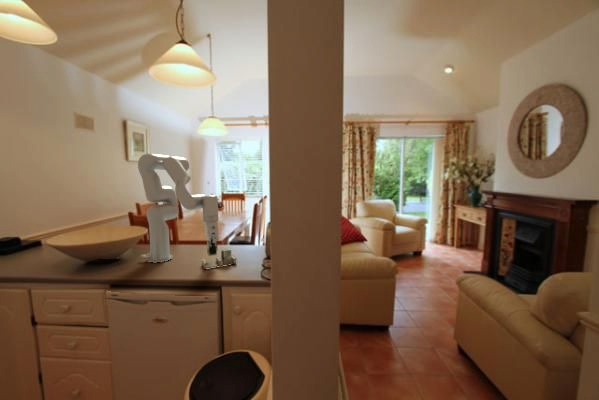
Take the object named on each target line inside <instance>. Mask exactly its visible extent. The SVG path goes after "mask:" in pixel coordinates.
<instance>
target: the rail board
mask: <svg viewBox="0 0 599 400" xmlns="http://www.w3.org/2000/svg"><path fill="white" fill-rule="evenodd" d="M220 253H221V255H220V256H221V257H220V256H216V257H215V261H210V262H208V261H207V260H206V259H205V258H202V259H201V266H202V265H203V266H202V268H203V267H204V268H205V269H206V268H211V267H217V266H223V265H229V264H236V263H237V262H238V261H237V257H235V256H234V254H232V249H231V248H229V247H227V248H221V252H220ZM204 268H203V269H204Z"/></svg>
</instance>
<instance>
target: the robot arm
mask: <svg viewBox="0 0 599 400" xmlns="http://www.w3.org/2000/svg"><path fill="white" fill-rule="evenodd" d="M137 168H138V173H139V174H140V177H141V179H142V184H143V185H142V186H143V189H144V193H145V197H146V200H147V202H149V203H152V204H153V203H154V204H155V203H161V204H155V205H151V206H150V207H148V208H147V209H146V219H147V223H148V228H149V229H148V231H149V247H150V251H149V253H146V254H141V255H140V258H141V259H143V260H144V259H147V262H148V263H150V262H153V263H152V264H157V262H160V263H164V261H165V262H168V260H169V261H171V260H172V259H173V258H174V256H173V255H172V254H171V253H170V229H169V225H168V224H167V222H166V221H168V220H173V219H176V218H177V217H179V214H180V213H179V212H180V211H179V210H180V209H179V205H178V202H179V203H180V205H181V206H182V207H183V208H184V209H186V210H188V211H193V210H198V209H202V220H203V221H202V222H203V223H204V227H205V228H204V229H205V230H204V231H205V233H204V234H205V238H206V240H207V241H210V247H209V249H210V254H216V243H217V241H219V236H220V235H219V225H218V222H219V202H218V201H219V200H218V199H219V198H218V196H217V195H215V194H201V193H199V194H190V193H191V192H190V191H188V188H187V187H186V185H187V184H188V183H190V182H191V179H192V177H191V175H190V174H189V172H188V171H189V169H190V163H189V161H188V160H187V159H186V158H185V157H181V156H174V155H173V156H172V155H167V154H160V153H159V154H158V153H145V154H143V155H141V156H140V157H139V158H138V162H137ZM155 170H162V171H163V170H164V171H166V174H168V176H169V177H170V179H171V180H172V181H173V183H174V184H175V188H174V189H175V190H174V189H173V187H172V186H169V185H162V182H161V179H160V175H159V174H158V173H157V172H156V171H155ZM212 240H213V241H212ZM211 242H212V243H211ZM170 259H171V260H170Z"/></svg>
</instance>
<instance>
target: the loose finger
mask: <svg viewBox="0 0 599 400" xmlns="http://www.w3.org/2000/svg"><path fill="white" fill-rule="evenodd" d="M212 241H213V240H212ZM211 243H212V242H211ZM209 247H210V241H208V240H207V241H206V249H207V251H206V253H207V256H208V257H212V256H217V255H218V254H217V253H218V242H216V254H210V249H209Z"/></svg>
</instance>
